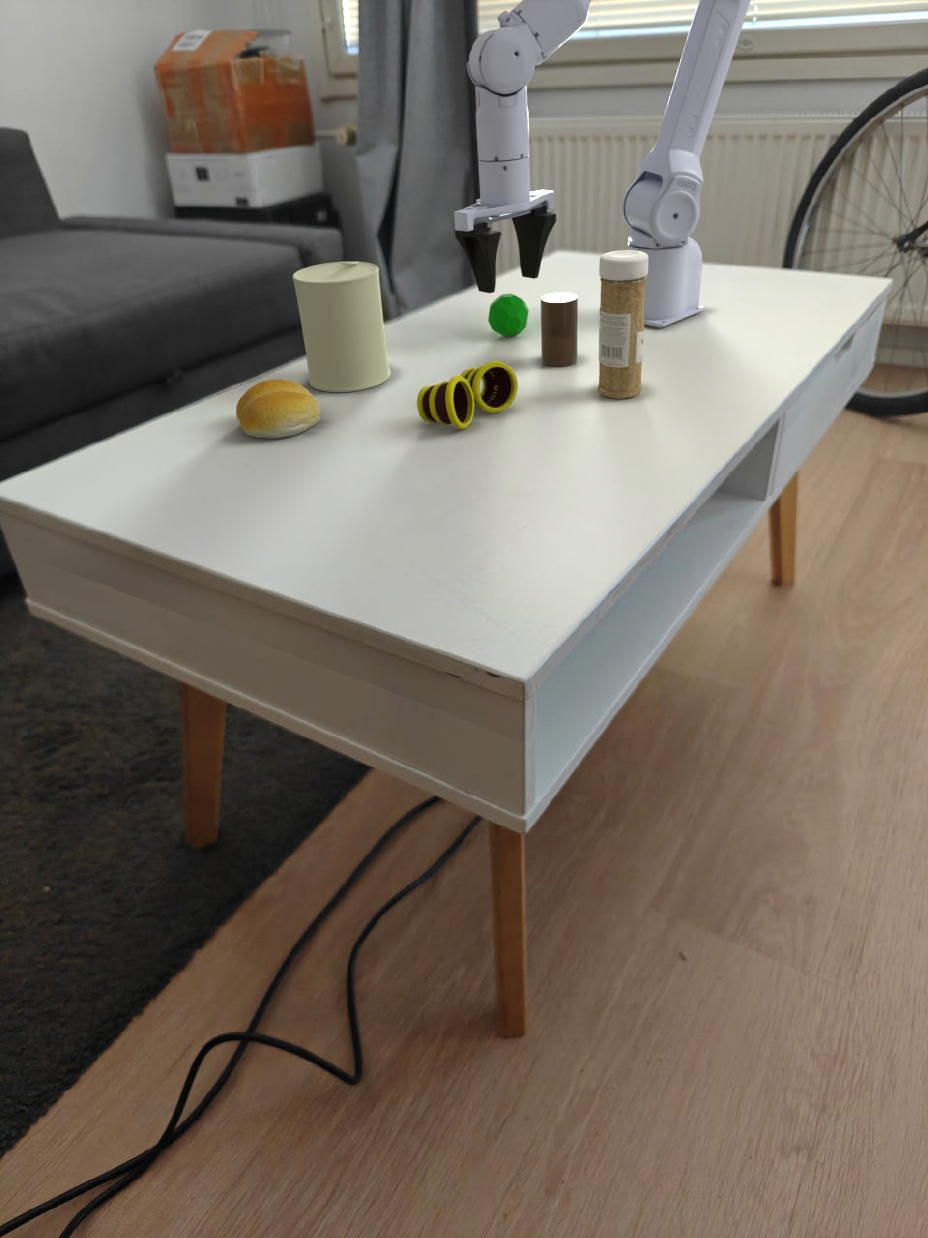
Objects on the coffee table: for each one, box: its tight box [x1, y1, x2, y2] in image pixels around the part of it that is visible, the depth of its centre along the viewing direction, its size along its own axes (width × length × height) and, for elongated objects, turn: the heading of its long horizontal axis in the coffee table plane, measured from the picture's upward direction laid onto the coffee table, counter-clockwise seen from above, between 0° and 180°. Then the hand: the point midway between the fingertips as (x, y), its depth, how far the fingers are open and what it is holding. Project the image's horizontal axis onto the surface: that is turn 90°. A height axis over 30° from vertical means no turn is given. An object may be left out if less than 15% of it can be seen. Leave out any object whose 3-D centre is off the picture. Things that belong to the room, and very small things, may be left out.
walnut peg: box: [540, 292, 579, 368], centre depth 99 cm, size 4×4×7 cm
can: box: [292, 261, 392, 393], centre depth 97 cm, size 9×9×12 cm
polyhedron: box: [487, 293, 530, 338], centre depth 109 cm, size 5×5×5 cm
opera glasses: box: [416, 360, 519, 430], centre depth 87 cm, size 10×5×5 cm, turn 136°
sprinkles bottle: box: [597, 249, 648, 400], centre depth 88 cm, size 5×5×13 cm
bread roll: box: [235, 378, 322, 439], centre depth 89 cm, size 8×9×4 cm
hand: (508, 284), depth 107 cm, fingers open, 7 cm apart
